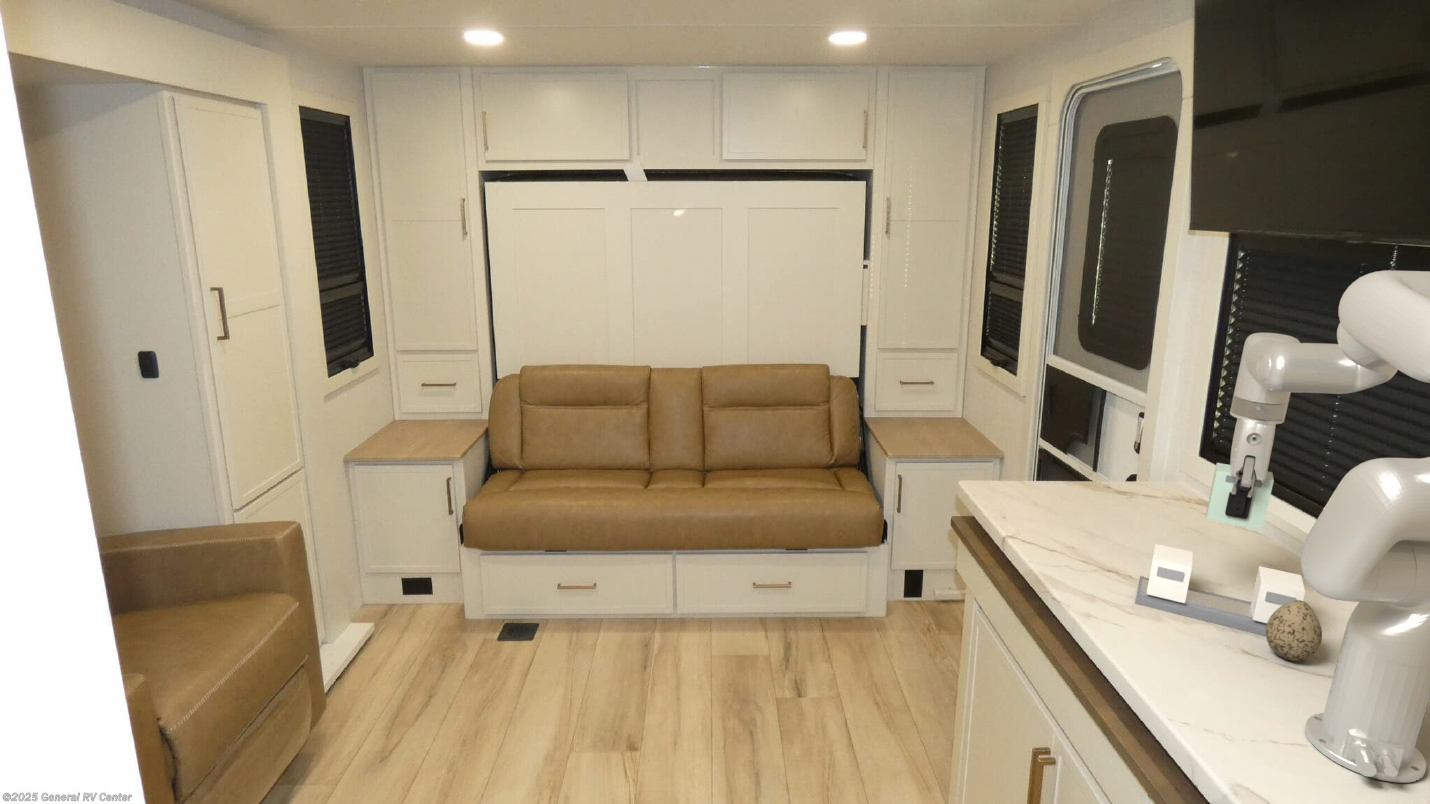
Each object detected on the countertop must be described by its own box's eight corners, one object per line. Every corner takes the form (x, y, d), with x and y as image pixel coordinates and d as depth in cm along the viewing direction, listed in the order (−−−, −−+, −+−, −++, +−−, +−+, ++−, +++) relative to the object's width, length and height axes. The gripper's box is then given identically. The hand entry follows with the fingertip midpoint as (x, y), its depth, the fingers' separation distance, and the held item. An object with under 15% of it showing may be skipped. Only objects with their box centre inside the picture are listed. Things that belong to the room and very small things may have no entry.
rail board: (1305, 646, 131) (1317, 598, 128) (1134, 603, 143) (1142, 559, 141) (1300, 619, 139) (1311, 574, 137) (1139, 580, 151) (1146, 539, 149)
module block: (1262, 531, 133) (1273, 481, 130) (1206, 520, 137) (1216, 470, 134) (1260, 521, 137) (1272, 472, 134) (1206, 510, 141) (1216, 462, 138)
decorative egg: (1279, 641, 132) (1292, 586, 129) (1325, 665, 126) (1340, 607, 123) (1250, 650, 129) (1263, 594, 126) (1296, 675, 123) (1310, 616, 120)
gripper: (1289, 426, 123) (1264, 535, 128) (1282, 400, 137) (1259, 500, 142) (1232, 417, 126) (1209, 524, 131) (1230, 393, 140) (1210, 490, 145)
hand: (1235, 510), depth 136 cm, fingers closed on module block, 4 cm apart
